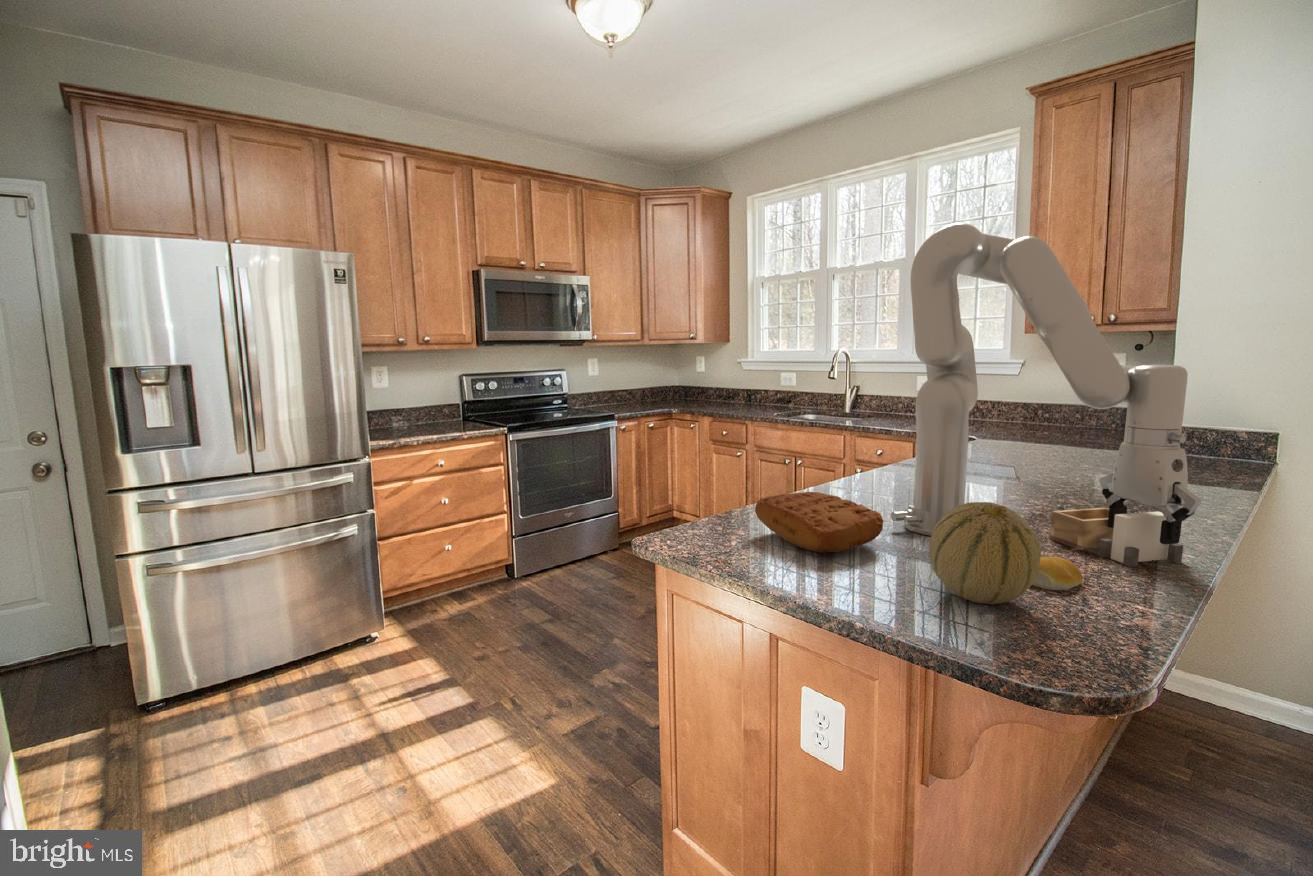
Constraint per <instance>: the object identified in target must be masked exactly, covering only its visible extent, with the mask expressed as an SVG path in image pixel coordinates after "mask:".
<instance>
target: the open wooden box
mask: <svg viewBox="0 0 1313 876" xmlns="http://www.w3.org/2000/svg"><path fill="white" fill-rule="evenodd" d="M1108 516H1109V508H1108V507H1095V508H1082V509H1081V508H1077V509H1067V510H1066V509H1065V510H1052V512H1051V520H1050V521H1051V522H1050V530H1049V531H1050V532H1049V539H1050V540H1052V541H1055V542H1058V543H1060V544H1063V545H1065V546H1068V547H1071V548H1073V549H1076V550H1078V551H1086V552H1088V553H1091V554H1094V555H1096V556H1099V557H1102V558H1111V549H1112V539H1113V529H1114V528H1110V527H1108ZM1183 552H1184V545H1183V544H1180V543H1177V544H1168V552H1167V559H1166V561H1167V560H1168V561H1167V562H1170V561H1171V562H1170V563H1173V564H1175V563H1174V562H1177V563H1182V561H1183V554H1184V553H1183ZM1138 556H1139V549H1138V548H1135V547H1125V550H1124V559H1123V563H1122V565H1124V566H1126V567H1129V568H1131V567H1138V564H1139V562H1138Z"/></svg>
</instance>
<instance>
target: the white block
mask: <svg viewBox="0 0 1313 876" xmlns="http://www.w3.org/2000/svg"><path fill="white" fill-rule="evenodd" d="M1163 520H1166V518H1165V516H1164V515H1163V513H1162V511H1148V512H1147V511H1145V512H1134V513H1133V512H1132V513H1130V512H1129V513H1127V514H1116V515H1115V519H1114V529H1113V539H1112V549H1111V557H1110V559H1111V560H1114V561H1115V562H1116V561H1117V562H1119V563H1121V564H1123V559H1124V550H1125V547H1135V548H1138V549H1139V556H1138V563H1139V562H1152V560H1153V561H1160V560H1159V559H1164V560H1167V554H1168V545H1169V544H1161V543H1160V534H1161V525H1162V521H1163Z"/></svg>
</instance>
